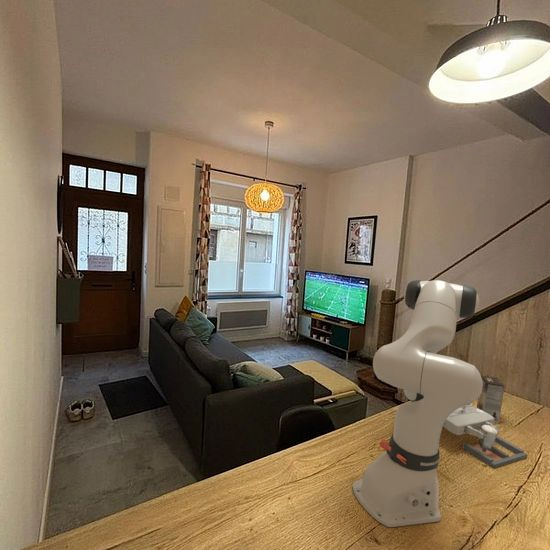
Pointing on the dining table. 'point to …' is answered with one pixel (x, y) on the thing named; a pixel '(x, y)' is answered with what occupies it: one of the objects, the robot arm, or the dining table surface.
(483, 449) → the milkshake
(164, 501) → the dining table surface
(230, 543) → the dining table surface
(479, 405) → the coffee box
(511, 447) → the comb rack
